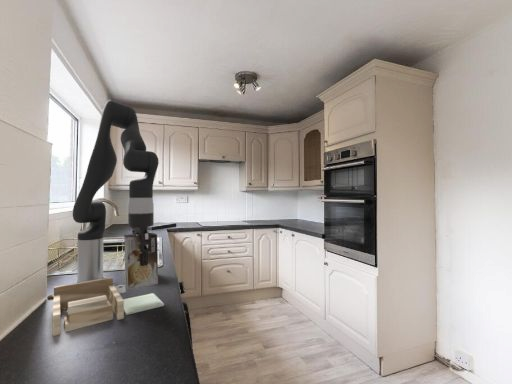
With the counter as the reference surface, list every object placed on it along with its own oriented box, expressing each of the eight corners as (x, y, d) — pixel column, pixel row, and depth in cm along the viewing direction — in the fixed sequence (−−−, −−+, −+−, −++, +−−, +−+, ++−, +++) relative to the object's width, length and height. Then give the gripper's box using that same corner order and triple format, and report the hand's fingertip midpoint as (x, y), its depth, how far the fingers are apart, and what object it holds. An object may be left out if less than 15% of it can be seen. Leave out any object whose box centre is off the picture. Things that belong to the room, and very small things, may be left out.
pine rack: (53, 309, 82) (53, 286, 82) (112, 297, 92) (112, 277, 92) (52, 336, 66) (52, 307, 66) (123, 318, 76) (123, 293, 76)
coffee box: (153, 279, 91) (153, 232, 92) (158, 284, 86) (158, 234, 86) (124, 284, 86) (124, 234, 87) (126, 289, 81) (127, 236, 81)
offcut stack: (63, 325, 72) (63, 302, 72) (109, 313, 79) (109, 293, 79) (65, 332, 68) (65, 309, 68) (113, 320, 75) (113, 298, 75)
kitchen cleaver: (41, 304, 85) (50, 292, 94) (41, 307, 85) (50, 295, 94) (126, 293, 95) (127, 283, 104) (126, 296, 95) (127, 286, 104)
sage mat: (118, 302, 87) (118, 300, 87) (153, 294, 94) (153, 293, 94) (126, 315, 78) (126, 312, 78) (164, 305, 84) (164, 303, 84)
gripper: (159, 212, 83) (159, 266, 83) (147, 210, 95) (147, 257, 94) (133, 213, 79) (133, 270, 78) (124, 211, 90) (123, 261, 90)
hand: (141, 263), depth 86 cm, fingers closed on coffee box, 6 cm apart
